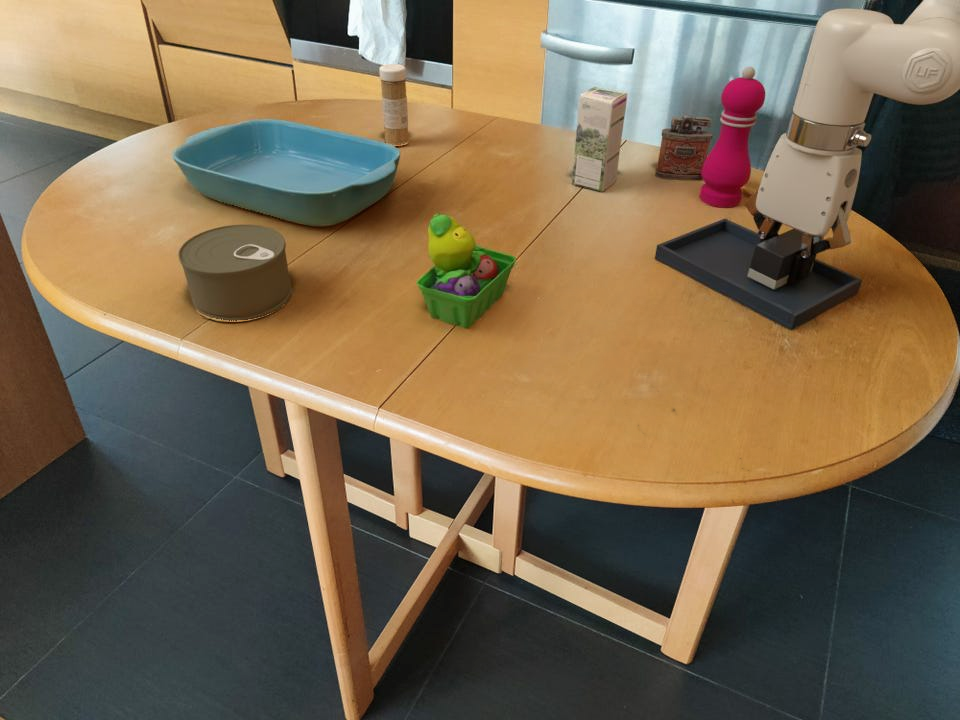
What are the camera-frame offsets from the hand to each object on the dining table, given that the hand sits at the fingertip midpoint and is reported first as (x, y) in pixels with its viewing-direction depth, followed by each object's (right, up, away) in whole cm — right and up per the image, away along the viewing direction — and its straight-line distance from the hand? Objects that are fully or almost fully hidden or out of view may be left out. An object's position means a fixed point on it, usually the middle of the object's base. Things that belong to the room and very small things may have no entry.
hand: (779, 271), depth 91 cm
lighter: (-5, +19, +29) cm, 35 cm away
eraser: (0, 0, 0) cm, 0 cm away
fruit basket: (-40, -5, -5) cm, 41 cm away
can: (-67, -4, -4) cm, 68 cm away
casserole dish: (-68, +15, +21) cm, 73 cm away
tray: (-3, 0, +2) cm, 3 cm away
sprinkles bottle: (-54, +28, +39) cm, 72 cm away
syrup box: (-20, +17, +26) cm, 37 cm away
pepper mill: (-1, +14, +21) cm, 25 cm away
